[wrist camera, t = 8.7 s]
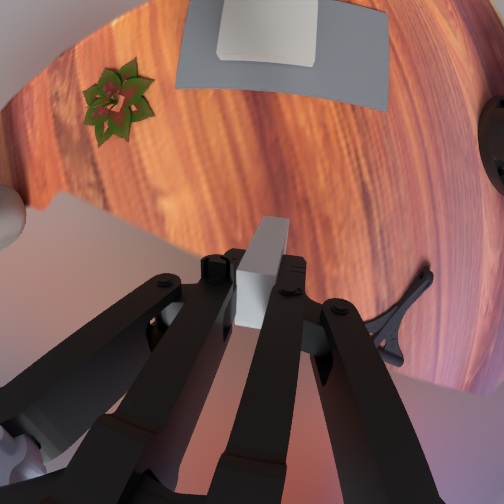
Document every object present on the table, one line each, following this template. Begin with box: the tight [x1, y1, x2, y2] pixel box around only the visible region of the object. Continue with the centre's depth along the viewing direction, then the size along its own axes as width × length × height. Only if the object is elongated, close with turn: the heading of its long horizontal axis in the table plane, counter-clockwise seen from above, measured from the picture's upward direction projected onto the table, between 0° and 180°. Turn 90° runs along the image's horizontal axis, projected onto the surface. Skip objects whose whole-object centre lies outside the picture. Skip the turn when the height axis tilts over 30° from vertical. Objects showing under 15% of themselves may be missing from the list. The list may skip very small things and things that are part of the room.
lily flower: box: [83, 58, 155, 148], centre depth 27 cm, size 12×12×5 cm
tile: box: [216, 0, 318, 67], centre depth 23 cm, size 10×3×10 cm
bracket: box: [364, 267, 434, 367], centre depth 34 cm, size 14×15×3 cm
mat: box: [175, 0, 389, 112], centre depth 25 cm, size 24×14×1 cm, turn 85°
